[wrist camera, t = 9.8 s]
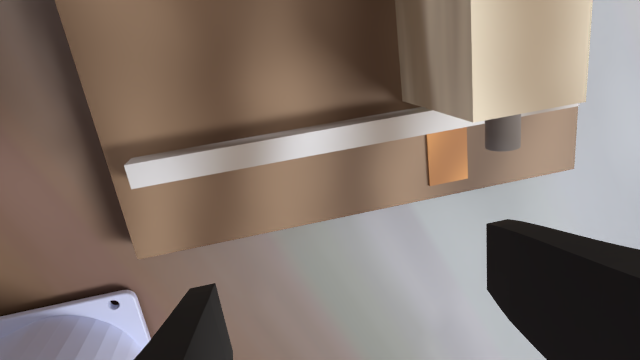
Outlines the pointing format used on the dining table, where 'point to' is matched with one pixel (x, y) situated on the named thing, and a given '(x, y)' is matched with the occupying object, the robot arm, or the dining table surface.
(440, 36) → the block
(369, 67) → the walnut board
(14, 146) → the dining table surface
